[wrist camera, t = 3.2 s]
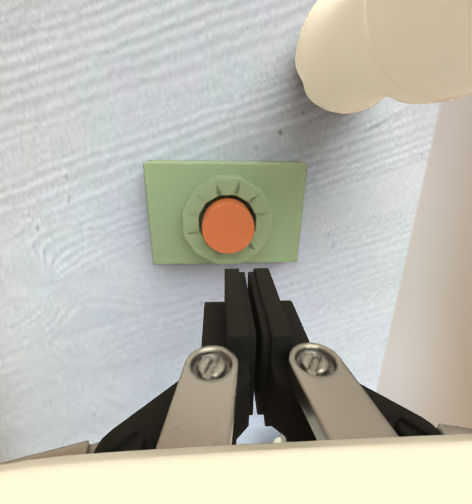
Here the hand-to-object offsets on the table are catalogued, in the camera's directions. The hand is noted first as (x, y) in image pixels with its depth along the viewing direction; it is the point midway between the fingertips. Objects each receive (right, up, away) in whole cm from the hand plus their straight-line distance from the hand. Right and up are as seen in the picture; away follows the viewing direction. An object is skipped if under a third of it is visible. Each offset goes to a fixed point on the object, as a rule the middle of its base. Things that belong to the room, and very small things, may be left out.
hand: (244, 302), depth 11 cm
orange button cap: (-1, +4, +10) cm, 11 cm away
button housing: (-1, +6, +13) cm, 15 cm away
